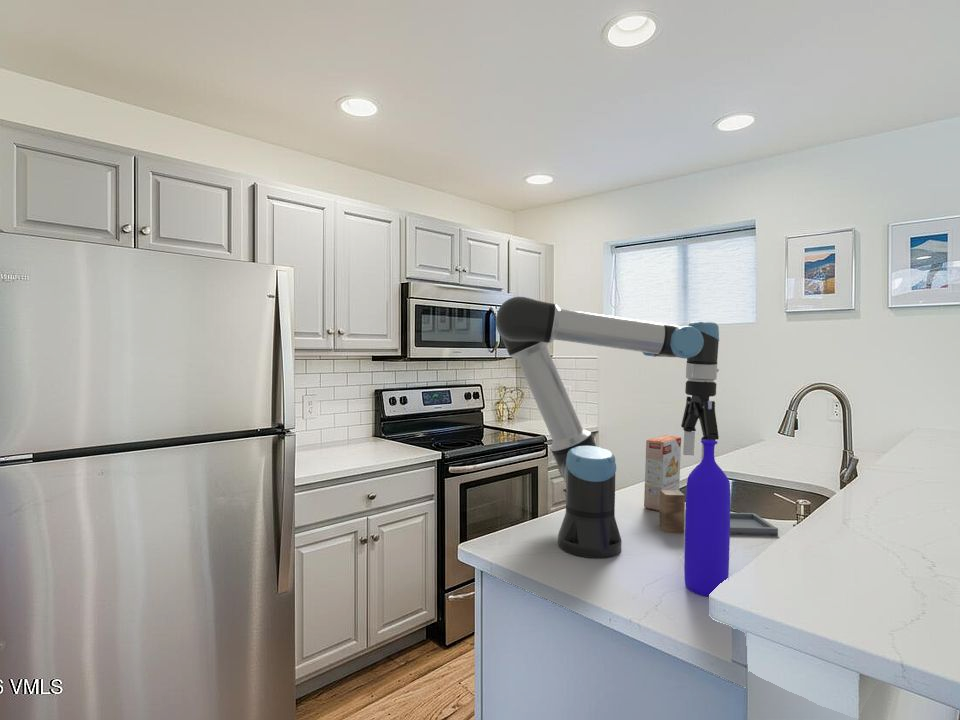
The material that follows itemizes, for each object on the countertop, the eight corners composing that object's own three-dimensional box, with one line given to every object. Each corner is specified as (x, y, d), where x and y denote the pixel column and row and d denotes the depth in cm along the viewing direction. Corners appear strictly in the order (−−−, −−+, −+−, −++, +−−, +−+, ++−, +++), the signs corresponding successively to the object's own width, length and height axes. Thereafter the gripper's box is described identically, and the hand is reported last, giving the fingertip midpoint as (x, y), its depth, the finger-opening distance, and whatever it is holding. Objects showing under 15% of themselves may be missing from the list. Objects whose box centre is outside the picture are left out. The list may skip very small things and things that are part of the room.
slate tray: (726, 534, 138) (727, 527, 138) (707, 518, 151) (708, 511, 151) (777, 535, 137) (778, 528, 137) (754, 519, 150) (754, 513, 150)
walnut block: (664, 532, 139) (665, 494, 138) (659, 526, 144) (660, 489, 143) (684, 533, 138) (684, 495, 138) (677, 526, 143) (678, 490, 143)
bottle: (682, 577, 112) (685, 436, 111) (724, 582, 109) (728, 438, 108) (685, 594, 104) (688, 442, 103) (731, 601, 101) (735, 445, 100)
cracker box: (662, 512, 156) (664, 442, 155) (643, 508, 160) (644, 439, 159) (680, 502, 166) (682, 436, 166) (662, 498, 170) (663, 434, 170)
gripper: (735, 384, 127) (731, 471, 128) (698, 378, 152) (694, 451, 152) (704, 383, 127) (700, 470, 128) (672, 377, 152) (668, 450, 153)
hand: (697, 460), depth 140 cm, fingers open, 13 cm apart
